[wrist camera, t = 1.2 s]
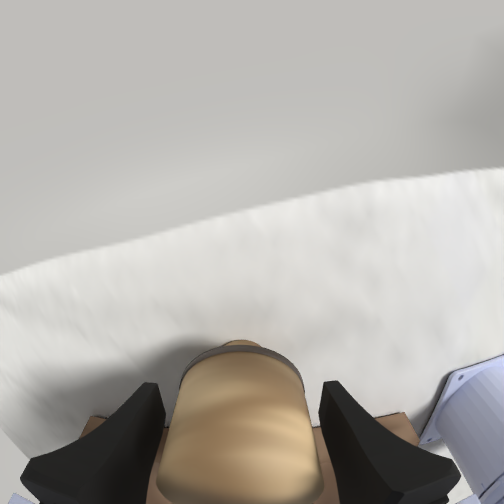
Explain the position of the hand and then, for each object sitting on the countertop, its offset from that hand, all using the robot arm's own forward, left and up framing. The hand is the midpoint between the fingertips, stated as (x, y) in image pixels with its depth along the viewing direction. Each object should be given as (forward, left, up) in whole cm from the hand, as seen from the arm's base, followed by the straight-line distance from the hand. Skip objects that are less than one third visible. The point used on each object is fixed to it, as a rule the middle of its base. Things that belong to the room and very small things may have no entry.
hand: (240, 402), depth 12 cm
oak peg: (0, 0, -3) cm, 3 cm away
